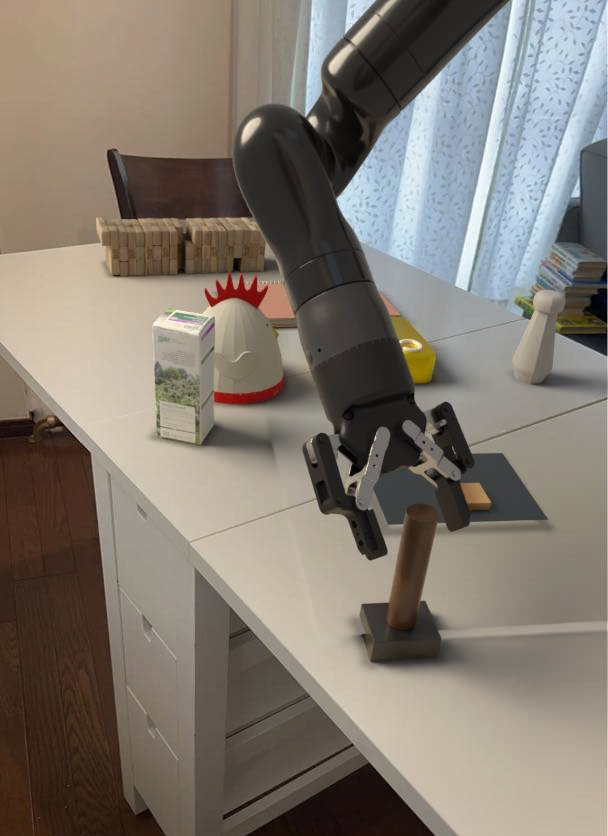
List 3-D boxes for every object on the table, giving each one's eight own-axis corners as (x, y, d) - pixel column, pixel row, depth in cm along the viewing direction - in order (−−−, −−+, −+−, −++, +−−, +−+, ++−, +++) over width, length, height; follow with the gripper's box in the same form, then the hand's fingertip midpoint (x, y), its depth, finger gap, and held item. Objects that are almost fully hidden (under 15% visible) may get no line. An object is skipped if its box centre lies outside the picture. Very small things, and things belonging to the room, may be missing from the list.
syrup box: (215, 425, 100) (217, 313, 91) (200, 448, 95) (200, 332, 86) (172, 417, 101) (169, 305, 92) (154, 439, 96) (150, 323, 87)
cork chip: (477, 490, 90) (479, 482, 90) (489, 510, 87) (491, 502, 86) (443, 490, 89) (445, 483, 89) (454, 511, 86) (456, 503, 86)
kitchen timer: (284, 407, 105) (292, 295, 96) (179, 403, 104) (177, 289, 95) (280, 362, 116) (286, 258, 107) (184, 358, 115) (183, 252, 106)
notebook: (366, 288, 144) (368, 277, 143) (399, 324, 132) (401, 313, 130) (218, 291, 138) (218, 280, 136) (237, 329, 125) (237, 317, 124)
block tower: (252, 262, 154) (97, 262, 144) (255, 217, 149) (95, 213, 139) (263, 276, 148) (103, 277, 138) (267, 229, 143) (101, 226, 134)
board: (500, 461, 98) (502, 452, 97) (545, 528, 87) (548, 519, 86) (358, 463, 95) (359, 455, 94) (386, 533, 84) (387, 524, 83)
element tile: (401, 342, 126) (406, 312, 123) (436, 384, 114) (442, 353, 112) (309, 344, 122) (312, 314, 119) (335, 388, 111) (339, 356, 108)
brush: (421, 620, 73) (449, 493, 65) (436, 659, 70) (469, 530, 61) (357, 624, 72) (378, 495, 64) (370, 663, 69) (393, 532, 60)
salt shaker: (500, 376, 118) (522, 289, 111) (523, 367, 122) (545, 282, 114) (533, 391, 115) (558, 303, 107) (555, 381, 118) (580, 295, 111)
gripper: (300, 349, 58) (374, 560, 57) (447, 321, 65) (515, 510, 64) (259, 386, 64) (326, 576, 64) (397, 357, 71) (458, 528, 71)
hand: (420, 542), depth 64 cm, fingers open, 8 cm apart
